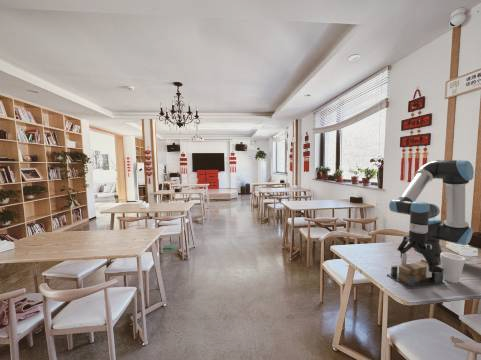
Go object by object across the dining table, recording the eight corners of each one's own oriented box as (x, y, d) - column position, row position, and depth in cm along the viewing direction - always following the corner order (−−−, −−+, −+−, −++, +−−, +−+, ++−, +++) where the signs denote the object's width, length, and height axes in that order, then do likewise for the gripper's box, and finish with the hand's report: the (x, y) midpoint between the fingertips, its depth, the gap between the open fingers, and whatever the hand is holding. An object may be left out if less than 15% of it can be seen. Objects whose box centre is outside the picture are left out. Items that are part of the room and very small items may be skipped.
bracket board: (419, 271, 127) (420, 258, 126) (444, 283, 114) (446, 269, 114) (387, 275, 122) (387, 262, 122) (409, 288, 110) (410, 273, 109)
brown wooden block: (420, 273, 124) (421, 261, 123) (431, 277, 119) (432, 265, 118) (398, 279, 118) (399, 266, 117) (408, 283, 113) (409, 270, 112)
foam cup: (465, 286, 112) (467, 261, 111) (441, 281, 117) (443, 257, 116) (459, 278, 120) (461, 254, 119) (437, 273, 125) (438, 251, 124)
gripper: (391, 225, 128) (389, 260, 129) (438, 240, 103) (434, 283, 105) (402, 224, 129) (399, 259, 131) (450, 239, 105) (447, 282, 106)
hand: (415, 270), depth 118 cm, fingers open, 13 cm apart
